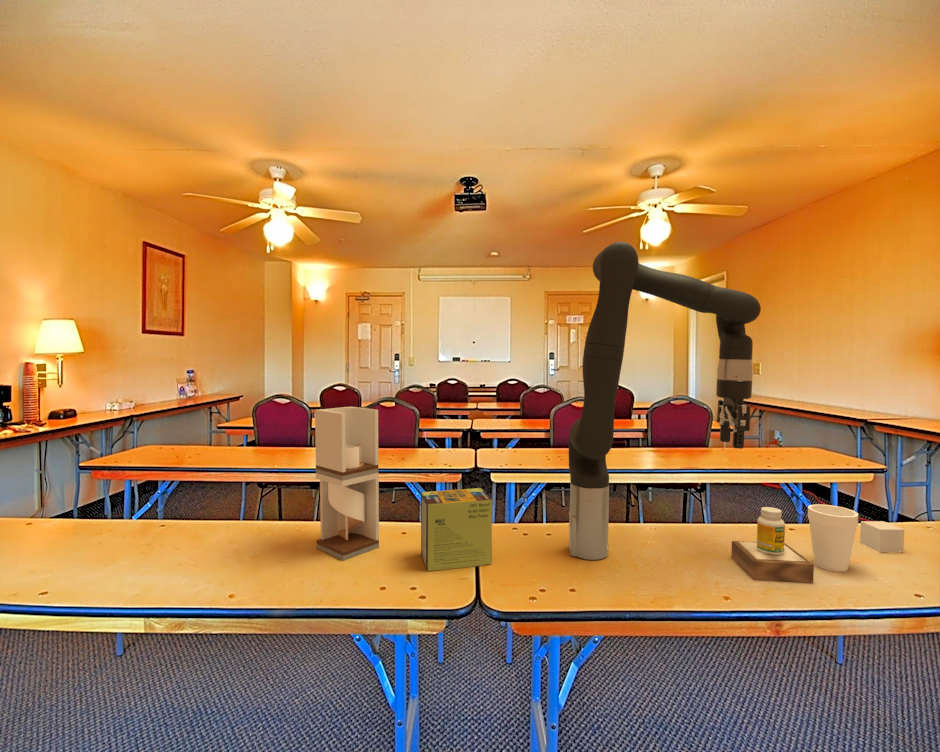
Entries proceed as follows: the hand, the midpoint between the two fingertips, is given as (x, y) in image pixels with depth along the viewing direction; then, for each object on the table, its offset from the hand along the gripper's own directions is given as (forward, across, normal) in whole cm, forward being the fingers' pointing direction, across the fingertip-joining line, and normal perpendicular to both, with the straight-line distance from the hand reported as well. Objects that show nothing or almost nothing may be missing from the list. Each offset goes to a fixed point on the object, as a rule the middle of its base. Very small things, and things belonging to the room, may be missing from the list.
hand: (731, 444), depth 119 cm
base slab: (+27, +8, +7) cm, 29 cm away
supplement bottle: (+23, +8, +7) cm, 25 cm away
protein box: (+29, +13, -65) cm, 72 cm away
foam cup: (+27, +3, +22) cm, 35 cm away
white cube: (+26, -10, +40) cm, 49 cm away
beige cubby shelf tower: (+29, +11, -93) cm, 98 cm away
